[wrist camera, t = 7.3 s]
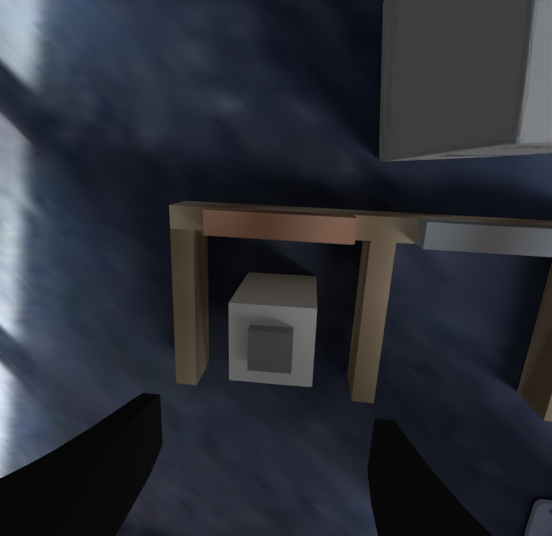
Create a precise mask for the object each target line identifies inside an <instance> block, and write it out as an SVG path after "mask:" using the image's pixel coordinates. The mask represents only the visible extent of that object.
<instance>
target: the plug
mask: <svg viewBox="0 0 552 536" xmlns="http://www.w3.org/2000/svg"><path fill="white" fill-rule="evenodd" d="M316 320H317V282H316V276H303V275H286V274H270V273H253V272H248V273H247V275H246V277H245V278H244V280H243V281H242V283H241V284H240V286H239V287H238V289H237V290H236V292H235V294H234V295H233V297H232V298H231V300H230V301H229V380H235V381H247V382H258V383H269V384H281V385H292V386H303V387H312V380H313V365H314V350H315V335H316Z"/></svg>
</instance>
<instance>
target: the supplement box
mask: <svg viewBox="0 0 552 536" xmlns="http://www.w3.org/2000/svg"><path fill="white" fill-rule="evenodd" d="M541 153H552V0H384V2H383V26H382V63H381V102H380V136H379V159H380V161H382V162H386V161H408V160H431V159H454V158H475V157H494V156H511V155H527V154H541Z"/></svg>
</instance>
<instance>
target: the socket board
mask: <svg viewBox="0 0 552 536" xmlns="http://www.w3.org/2000/svg"><path fill="white" fill-rule="evenodd" d="M169 213H170V238H171V263H172V288H173V313H174V338H175V363H176V383H178V384H188V385H197V384H198V382H199V380H200V378H201V376H202V374H203V373H204V371H205V369H206V367H207V365H208V363H209V308H208V236H221V237H237V238H253V239H269V240H285V241H301V242H317V243H333V244H349V245H355V240H362V250H361V259H360V268H359V276H358V285H357V294H356V303H355V312H354V321H353V330H352V339H351V348H350V357H349V365H348V374H347V377H348V383H349V389H350V395H351V401H355V402H365V403H374V398H375V391H376V383H377V376H378V369H379V362H380V355H381V347H382V340H383V333H384V326H385V319H386V312H387V304H388V297H389V290H390V283H391V276H392V268H393V261H394V254H395V247H396V243H411V244H416V245H418V246H419V247H421V248H422V249H429V250H445V251H461V252H477V253H493V254H509V255H525V256H541V257H552V220H534V219H516V218H497V217H478V216H460V215H441V214H422V213H404V212H385V211H367V210H348V209H329V208H311V207H292V206H273V205H255V204H236V203H218V202H199V201H184V202H179V203H175V204H171V205H169ZM517 392H518V393H519V394H520V396H521V397H522V398H523V399H524V400H525V401H526V402H527V403H528V404H529V405H530V406H531V407H532V408H533V410H534V411H535V412H536V413H537V414H538V415H539V416H540V417H541V418H542V419H543V420H544V421H551V422H552V263H551V267H550V271H549V274H548V278H547V282H546V286H545V289H544V293H543V297H542V301H541V304H540V308H539V312H538V316H537V319H536V323H535V327H534V331H533V334H532V338H531V342H530V346H529V349H528V353H527V357H526V361H525V364H524V368H523V372H522V376H521V379H520V383H519V387H518V390H517Z"/></svg>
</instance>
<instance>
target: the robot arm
mask: <svg viewBox="0 0 552 536" xmlns="http://www.w3.org/2000/svg"><path fill="white" fill-rule="evenodd" d="M162 445H163V443H162V423H161V403H160V395H158V394H149V393H142V394H140V395H139V396H137V397H136V398H134V399H133V400H131V401H130V402H128V403H127V404H125V405H124V406H122V407H121V408H119V409H118V410H116V411H115V412H113V413H112V414H111V415H109V416H108V417H106V418H105V419H103V420H102V421H100V422H99V423H97V424H96V425H94V426H93V427H91V428H89V429H88V430H86V431H85V432H83V433H82V434H80V435H78V436H77V437H75V438H73V439H72V440H70V441H68V442H67V443H65V444H64V445H62V446H60V447H59V448H57V449H55V450H54V451H52V452H50V453H48V454H47V455H45V456H43V457H41V458H39V459H38V460H36V461H34V462H32V463H30V464H28V465H26V466H24V467H22V468H20V469H19V470H17V471H15V472H13V473H11V474H9V475H6V476H4V477H2V478H0V536H116V534H117V532H118V531H119V529H120V527H121V525H122V524H123V522H124V520H125V518H126V517H127V515H128V513H129V511H130V510H131V508H132V506H133V504H134V503H135V501H136V499H137V497H138V495H139V494H140V492H141V490H142V488H143V486H144V485H145V483H146V481H147V479H148V477H149V475H150V473H151V471H152V469H153V466H154V464H155V462H156V459H157V457H158V455H159V452H160V450H161V447H162ZM368 479H369V489H370V497H371V505H372V510H373V514H374V519H375V524H376V528H377V533H378V536H492V535H491V534H490V533H489V532H488V531H487V530H486V529H485V528H484V527H483V526H482V525H481V524H480V523H479V522H478V521H477V520H476V519H475V518H474V517H473V516H472V515H471V514H470V513H469V512H468V511H467V510H466V509H465V508H464V507H463V506H462V504H461V503H460V502H459V501H458V500H457V499H456V498H455V497H454V495H453V494H452V493H451V492H450V491H449V490H448V489H447V487H446V486H445V485H444V484H443V483H442V481H441V480H440V479H439V478H438V477H437V475H436V474H435V473H434V472H433V470H432V469H431V468H430V467H429V465H428V464H427V463H426V462H425V460H424V459H423V458H422V457H421V455H420V454H419V453H418V451H417V450H416V449H415V447H414V446H413V445H412V443H411V442H410V441H409V439H408V438H407V437H406V435H405V434H404V432H403V431H402V430H401V428H400V427H399V426H398V424H397V423H396V422H395V421H394V420H386V419H377V418H375V422H374V429H373V435H372V442H371V449H370V456H369V463H368ZM524 536H552V500H545V499H540V500H537V501H536V502H535V503H534V505H533V508H532V511H531V514H530V517H529V521H528V524H527V527H526V530H525V533H524Z"/></svg>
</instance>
